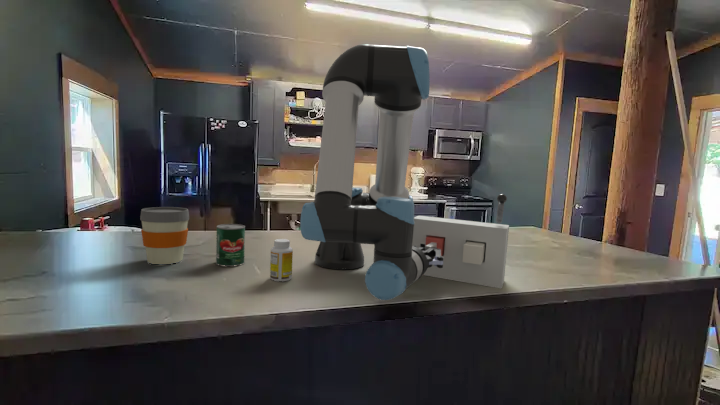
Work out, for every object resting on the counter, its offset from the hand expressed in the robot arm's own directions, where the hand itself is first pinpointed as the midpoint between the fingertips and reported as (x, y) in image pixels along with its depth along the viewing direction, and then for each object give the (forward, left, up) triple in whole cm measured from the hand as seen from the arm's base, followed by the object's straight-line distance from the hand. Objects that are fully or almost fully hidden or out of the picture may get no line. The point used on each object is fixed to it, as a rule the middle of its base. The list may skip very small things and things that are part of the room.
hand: (434, 247), depth 107 cm
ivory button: (+11, 0, -2) cm, 11 cm away
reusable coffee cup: (-71, -29, -9) cm, 77 cm away
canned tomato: (-55, -20, -9) cm, 59 cm away
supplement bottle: (-34, -24, -9) cm, 42 cm away
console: (+5, +5, -9) cm, 12 cm away
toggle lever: (+16, +6, +7) cm, 18 cm away
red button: (0, +3, -2) cm, 4 cm away
